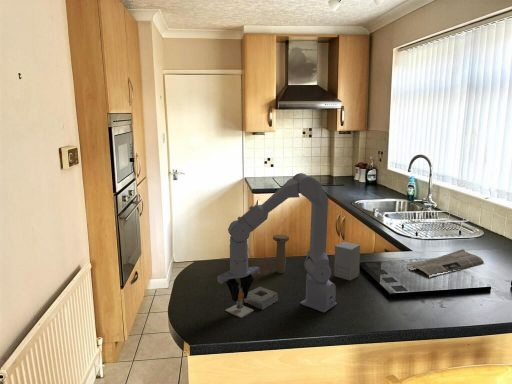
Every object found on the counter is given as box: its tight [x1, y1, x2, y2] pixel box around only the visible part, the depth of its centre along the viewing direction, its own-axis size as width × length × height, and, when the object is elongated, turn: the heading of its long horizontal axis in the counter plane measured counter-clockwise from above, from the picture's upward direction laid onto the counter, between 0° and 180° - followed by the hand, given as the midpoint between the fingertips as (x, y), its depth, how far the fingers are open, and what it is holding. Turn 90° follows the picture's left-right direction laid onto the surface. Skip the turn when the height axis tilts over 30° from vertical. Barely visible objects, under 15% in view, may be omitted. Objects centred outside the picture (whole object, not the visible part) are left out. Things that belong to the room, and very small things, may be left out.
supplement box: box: [334, 241, 361, 281], centre depth 153 cm, size 7×7×13 cm
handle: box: [272, 234, 290, 274], centre depth 157 cm, size 5×6×15 cm
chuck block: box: [244, 286, 279, 310], centre depth 132 cm, size 8×8×3 cm
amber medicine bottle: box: [235, 285, 245, 309], centre depth 125 cm, size 3×3×7 cm
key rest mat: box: [225, 304, 255, 319], centre depth 126 cm, size 7×6×1 cm
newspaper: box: [406, 248, 485, 276], centre depth 164 cm, size 35×12×4 cm, turn 117°
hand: (239, 298), depth 125 cm, fingers closed on amber medicine bottle, 3 cm apart
